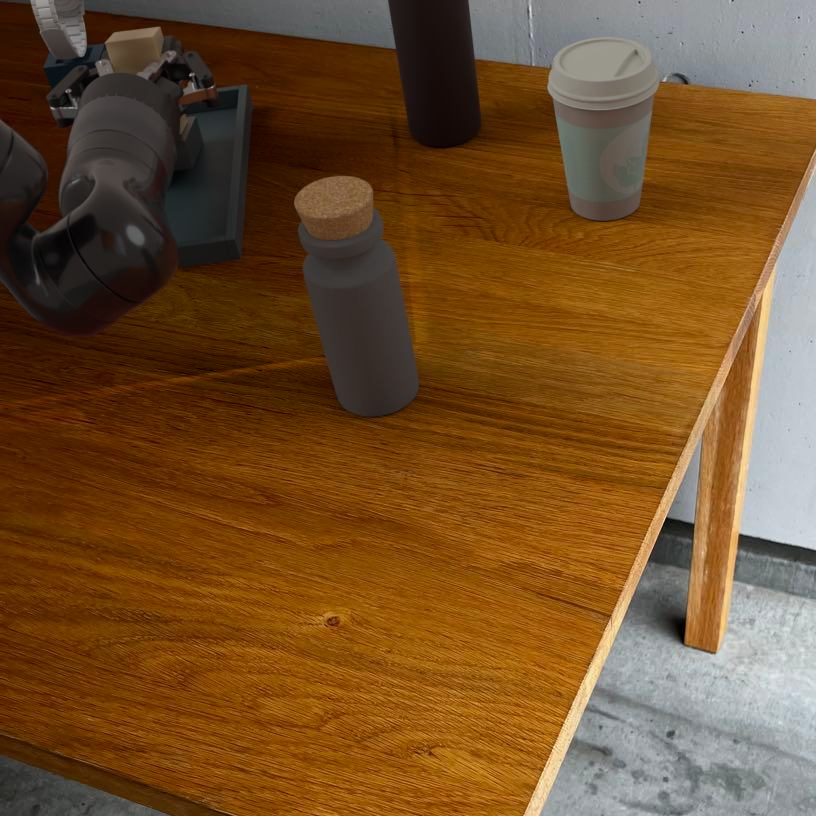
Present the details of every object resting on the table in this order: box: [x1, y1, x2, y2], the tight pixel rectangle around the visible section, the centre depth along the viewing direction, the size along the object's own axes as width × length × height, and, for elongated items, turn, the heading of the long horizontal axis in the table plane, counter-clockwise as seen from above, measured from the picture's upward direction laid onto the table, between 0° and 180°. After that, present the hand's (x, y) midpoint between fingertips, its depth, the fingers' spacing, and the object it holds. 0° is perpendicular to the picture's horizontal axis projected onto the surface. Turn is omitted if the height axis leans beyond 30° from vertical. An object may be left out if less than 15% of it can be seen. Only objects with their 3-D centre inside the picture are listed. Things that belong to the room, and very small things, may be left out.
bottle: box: [293, 175, 420, 418], centre depth 68 cm, size 6×6×15 cm
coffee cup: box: [547, 36, 660, 222], centre depth 83 cm, size 8×8×12 cm
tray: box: [164, 84, 255, 269], centre depth 93 cm, size 14×28×2 cm, turn 8°
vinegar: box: [387, 0, 482, 148], centre depth 90 cm, size 7×7×20 cm
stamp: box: [104, 26, 203, 171], centre depth 92 cm, size 5×8×10 cm, turn 9°
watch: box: [30, 0, 107, 92], centre depth 105 cm, size 6×8×11 cm
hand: (145, 50), depth 92 cm, fingers closed on stamp, 4 cm apart
